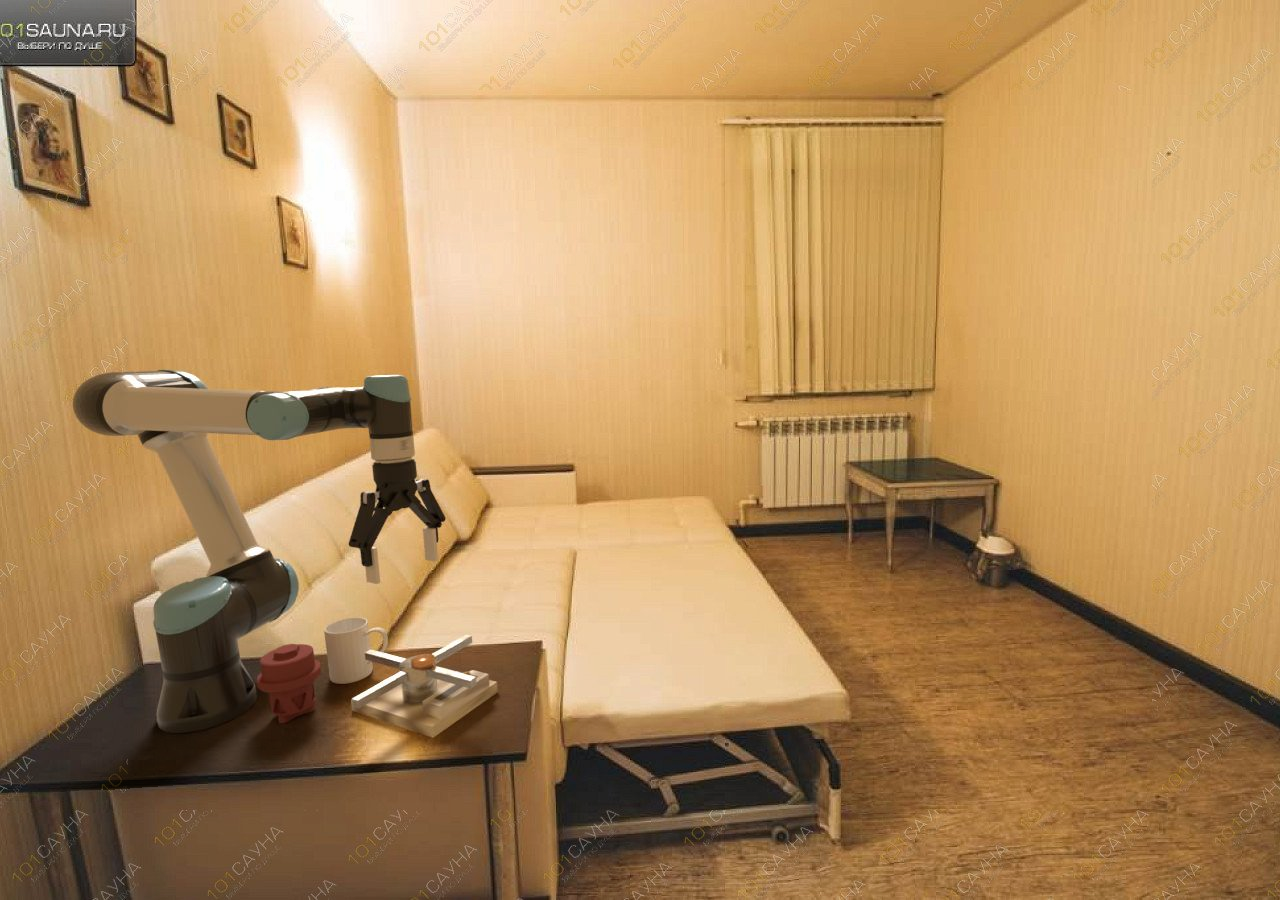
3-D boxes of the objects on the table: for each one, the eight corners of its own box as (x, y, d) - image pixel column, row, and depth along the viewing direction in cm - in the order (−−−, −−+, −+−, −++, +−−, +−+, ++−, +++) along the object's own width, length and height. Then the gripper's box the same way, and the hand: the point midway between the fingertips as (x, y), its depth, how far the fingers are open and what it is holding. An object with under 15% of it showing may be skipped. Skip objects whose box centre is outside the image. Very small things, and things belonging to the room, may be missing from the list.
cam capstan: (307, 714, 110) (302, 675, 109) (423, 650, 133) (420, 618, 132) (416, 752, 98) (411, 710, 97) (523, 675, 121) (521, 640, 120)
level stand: (352, 710, 116) (348, 678, 115) (420, 671, 130) (417, 642, 129) (433, 737, 106) (429, 703, 106) (497, 691, 120) (495, 660, 119)
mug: (321, 684, 126) (315, 633, 125) (344, 665, 134) (338, 616, 132) (380, 685, 125) (375, 633, 123) (400, 665, 133) (395, 617, 131)
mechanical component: (337, 700, 120) (299, 731, 110) (290, 697, 122) (248, 727, 112) (330, 637, 118) (290, 663, 108) (282, 635, 120) (239, 660, 110)
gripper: (347, 472, 106) (360, 596, 109) (458, 450, 127) (466, 554, 131) (318, 470, 110) (331, 589, 113) (431, 449, 131) (439, 550, 134)
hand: (404, 571), depth 122 cm, fingers open, 13 cm apart
